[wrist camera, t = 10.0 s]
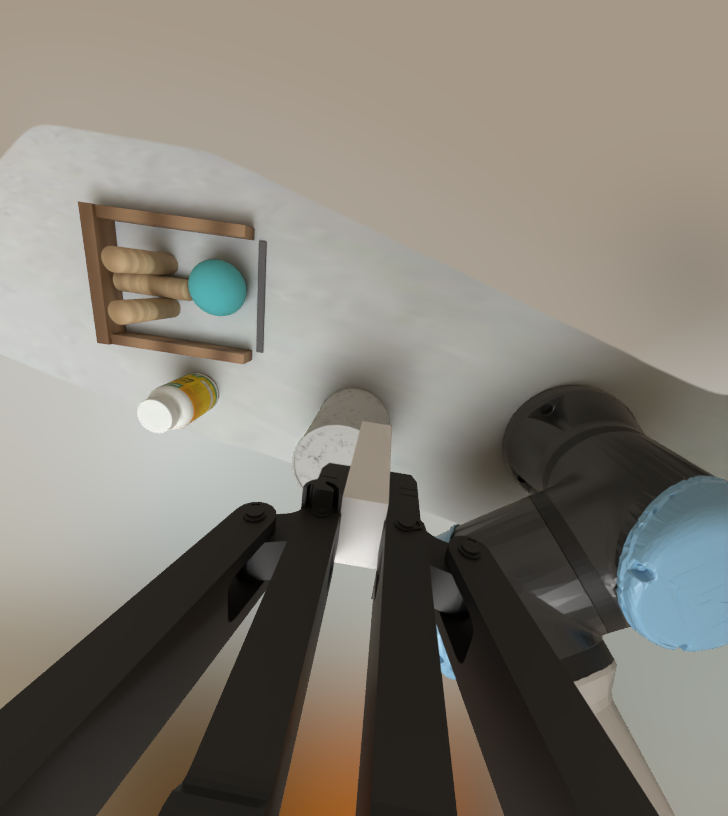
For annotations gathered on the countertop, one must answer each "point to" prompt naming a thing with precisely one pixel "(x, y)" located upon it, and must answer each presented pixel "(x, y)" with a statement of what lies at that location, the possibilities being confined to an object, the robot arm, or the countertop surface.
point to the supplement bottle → (178, 403)
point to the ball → (217, 287)
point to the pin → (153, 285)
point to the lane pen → (97, 237)
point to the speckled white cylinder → (335, 432)
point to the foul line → (261, 296)
